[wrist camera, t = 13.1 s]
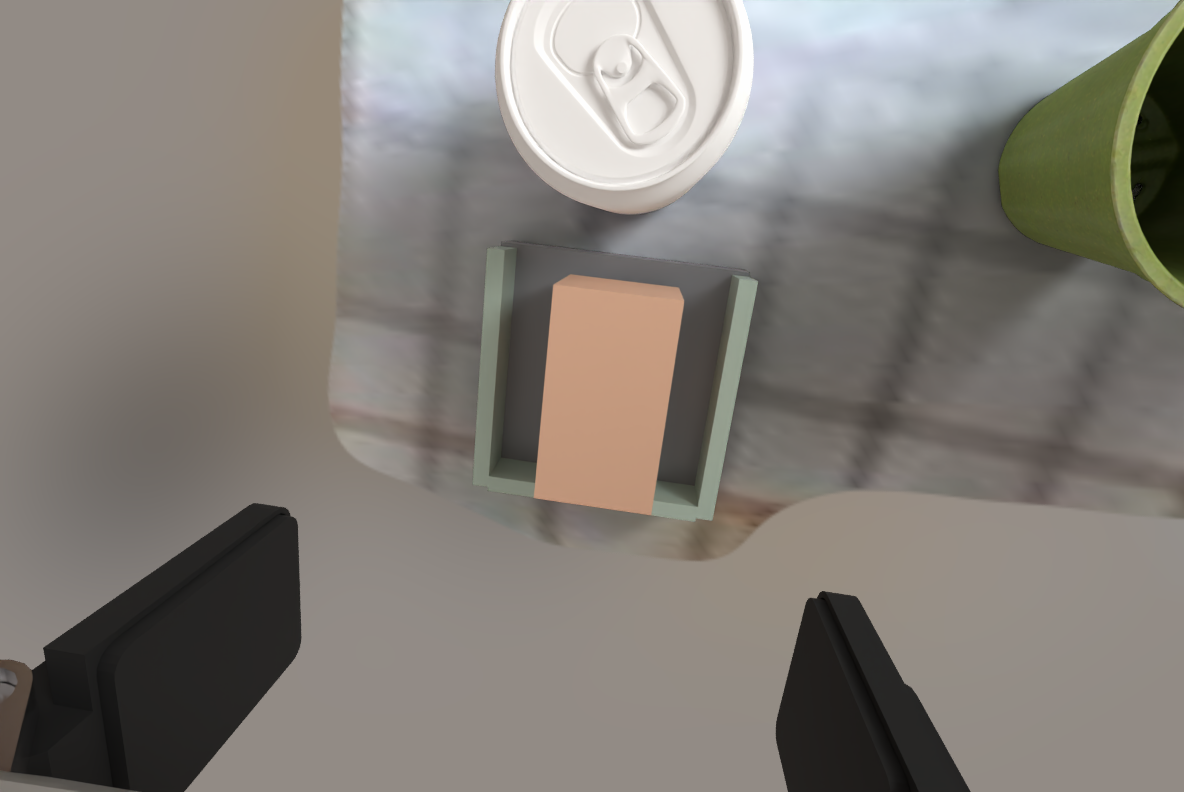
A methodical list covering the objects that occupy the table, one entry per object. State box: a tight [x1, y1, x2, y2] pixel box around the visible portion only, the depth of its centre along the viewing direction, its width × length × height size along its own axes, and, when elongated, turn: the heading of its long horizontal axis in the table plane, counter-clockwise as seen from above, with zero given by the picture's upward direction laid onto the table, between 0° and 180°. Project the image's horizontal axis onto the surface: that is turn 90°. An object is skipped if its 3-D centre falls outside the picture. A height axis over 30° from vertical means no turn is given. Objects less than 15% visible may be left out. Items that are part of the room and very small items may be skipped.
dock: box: [472, 241, 758, 522], centre depth 30 cm, size 12×12×4 cm
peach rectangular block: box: [534, 274, 684, 515], centre depth 27 cm, size 9×5×6 cm, turn 174°
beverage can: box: [495, 0, 753, 214], centre depth 23 cm, size 8×8×12 cm
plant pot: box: [998, 0, 1184, 308], centre depth 22 cm, size 12×12×11 cm
